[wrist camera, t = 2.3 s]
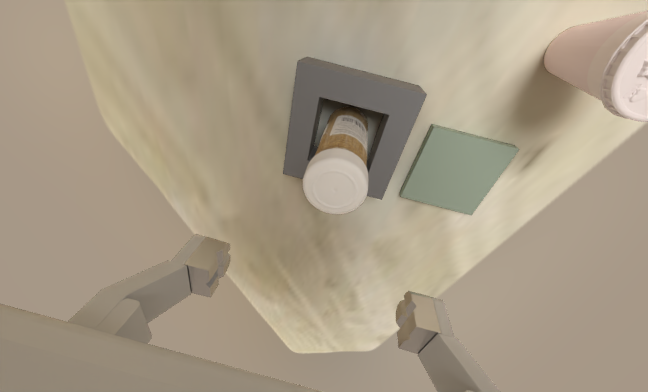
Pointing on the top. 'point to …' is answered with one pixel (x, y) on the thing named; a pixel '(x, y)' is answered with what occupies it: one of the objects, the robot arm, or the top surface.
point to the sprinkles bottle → (339, 164)
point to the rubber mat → (456, 169)
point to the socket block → (355, 90)
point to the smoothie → (606, 62)
